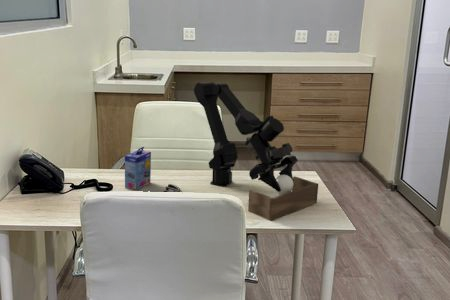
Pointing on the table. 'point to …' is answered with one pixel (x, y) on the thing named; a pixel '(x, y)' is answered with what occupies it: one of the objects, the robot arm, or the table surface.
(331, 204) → the table surface
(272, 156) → the robot arm
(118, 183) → the table surface
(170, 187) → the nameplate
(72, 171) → the table surface
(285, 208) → the open box
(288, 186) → the lightbulb
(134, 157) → the ink cartridge box
